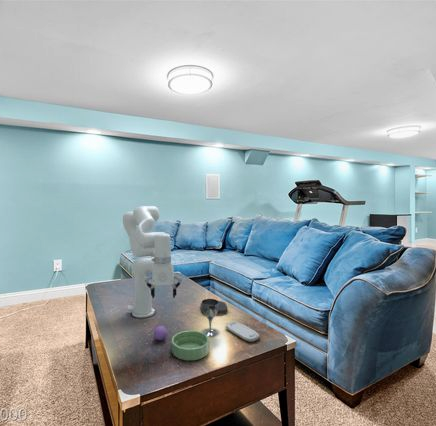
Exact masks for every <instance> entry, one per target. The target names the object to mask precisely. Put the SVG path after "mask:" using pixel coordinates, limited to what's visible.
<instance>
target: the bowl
mask: <svg viewBox="0 0 436 426" xmlns="http://www.w3.org/2000/svg"><path fill="white" fill-rule="evenodd" d="M209 352H210V336H207V335H206V334H204V333H203V331H199V330H191V329H190V330H183V331H179V332H177V333H175V334H174V335H173V336H172V337H171V353H172V355H173V356H175V358H177V359H178V360H179V359H180V360H182V361H197V360H201V359H202V358H205V357H207V355H208V354H209Z"/></svg>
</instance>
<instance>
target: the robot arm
mask: <svg viewBox="0 0 436 426" xmlns="http://www.w3.org/2000/svg"><path fill="white" fill-rule="evenodd" d="M159 219H160V210H159V208H158V207H157V206H154V205H141V206H137V207H135V208H134V209H133V210H132V211H126V212H125V213H124V214H123V215H122V225H123V229H124V230H125V232H126V234H127V236H128V239H129V245H130V250H131V254H132V256H133V257H135V259H134V260H133V261H132V264H131V268H132V273H133V284H134V285H133V288H134V289H133V290H134V293H133V294H134V304H133V305H127V307H126V308H127V310H128V311H131V314H132V315H131V316H133V317H134V318H138V319H140V318H143V319H144V318H149V317H151V316H153V315H155V313H156V310H155V309H154V308H153V299H155V296H156V287H172V298H173V299H175V298H176V296H177V288H178V287H179V286H181V284H182V281H183V279H182V277H180V276H178V275H176V274H175V269H174V263H173V262H172V244H171V234H169V233H166V232H164V231H153V232H150V231H152V230H153V229H154V227H155V226H156V222H157V221H158V220H159ZM148 275H150V276H148ZM175 280H176V281H177V283H175Z"/></svg>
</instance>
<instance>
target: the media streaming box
mask: <svg viewBox="0 0 436 426" xmlns="http://www.w3.org/2000/svg"><path fill="white" fill-rule="evenodd" d="M217 301H218V312H217V314H216V315H225V314H227V313H228V305H227V304H226V302H225V301H221V300H217ZM200 310H201V313H202V314H203V310H202V302H200Z"/></svg>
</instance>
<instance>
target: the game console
mask: <svg viewBox="0 0 436 426" xmlns="http://www.w3.org/2000/svg"><path fill="white" fill-rule="evenodd" d="M225 328H226V329H227V330H228V331H229V332H231V333H233V334H234V335H236V336H238V337H239V338H241V339H242V340H244V341H246V342H250V343H251V342H256V341H258V340H259V338H260V334H259V333H258V332H257V331H256V330H254V329H253V328H250V327H248V326H247V325H245V324H243V323H242V322H238V321H229V322H227V323H226V325H225Z"/></svg>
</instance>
